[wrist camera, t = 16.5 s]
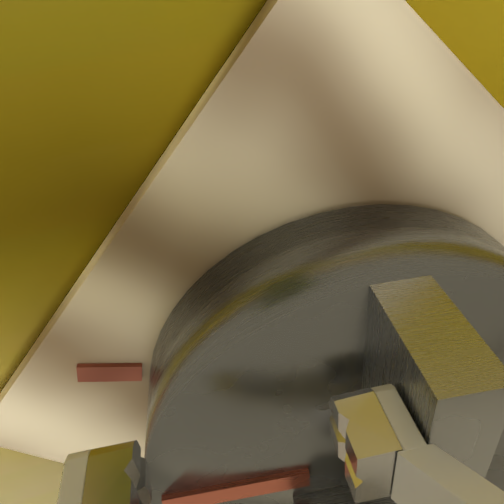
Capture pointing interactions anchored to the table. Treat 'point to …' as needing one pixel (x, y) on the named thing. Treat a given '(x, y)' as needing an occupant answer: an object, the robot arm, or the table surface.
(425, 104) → the board
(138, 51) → the table surface
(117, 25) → the table surface
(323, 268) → the grey disc with tab
